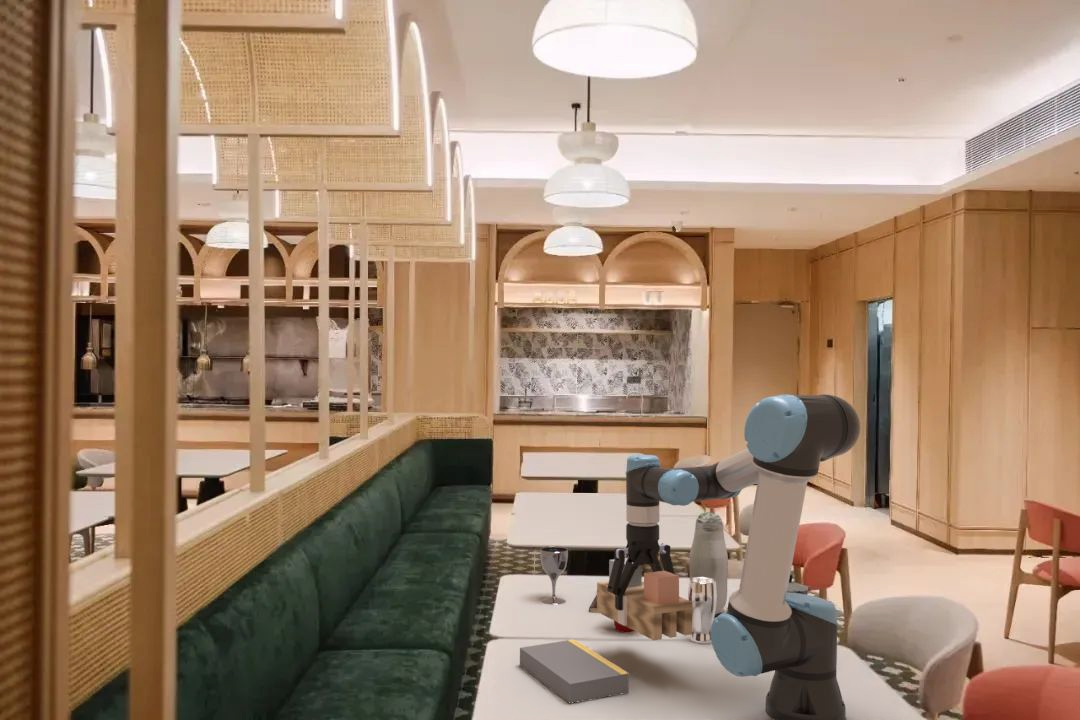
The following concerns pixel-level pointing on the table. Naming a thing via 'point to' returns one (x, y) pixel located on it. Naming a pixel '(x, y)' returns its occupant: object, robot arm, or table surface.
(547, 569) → the wine glass
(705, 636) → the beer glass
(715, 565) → the grey bottle
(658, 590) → the salmon pink cube
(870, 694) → the table surface
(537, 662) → the block
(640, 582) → the grey block
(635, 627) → the pallet
